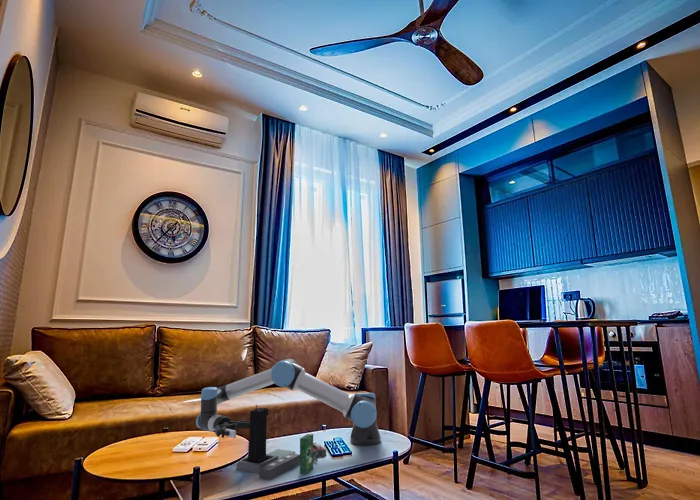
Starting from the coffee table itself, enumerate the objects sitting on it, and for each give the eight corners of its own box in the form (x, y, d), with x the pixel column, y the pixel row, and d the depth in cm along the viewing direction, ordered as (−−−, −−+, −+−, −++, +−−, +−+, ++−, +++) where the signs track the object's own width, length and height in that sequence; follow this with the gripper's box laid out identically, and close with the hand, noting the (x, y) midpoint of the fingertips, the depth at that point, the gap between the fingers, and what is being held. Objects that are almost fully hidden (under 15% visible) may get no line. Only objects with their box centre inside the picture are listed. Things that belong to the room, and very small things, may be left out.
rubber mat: (295, 452, 178) (295, 451, 178) (278, 460, 168) (278, 459, 168) (278, 450, 183) (278, 449, 183) (261, 457, 172) (261, 456, 172)
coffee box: (307, 467, 160) (307, 433, 162) (314, 467, 159) (313, 433, 161) (299, 474, 152) (299, 438, 155) (305, 474, 151) (305, 438, 154)
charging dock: (300, 463, 164) (300, 453, 165) (269, 480, 147) (269, 469, 147) (262, 457, 173) (262, 448, 174) (229, 472, 156) (229, 462, 157)
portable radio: (257, 462, 167) (258, 401, 171) (269, 464, 164) (270, 401, 169) (246, 468, 159) (247, 404, 164) (258, 470, 157) (259, 405, 162)
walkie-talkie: (299, 451, 181) (314, 464, 163) (299, 441, 181) (314, 453, 164) (316, 448, 184) (333, 461, 167) (316, 438, 185) (333, 450, 168)
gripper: (242, 427, 189) (270, 433, 177) (194, 439, 170) (222, 447, 157) (242, 411, 191) (270, 416, 178) (195, 421, 172) (223, 427, 159)
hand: (248, 430), depth 168 cm, fingers open, 13 cm apart
